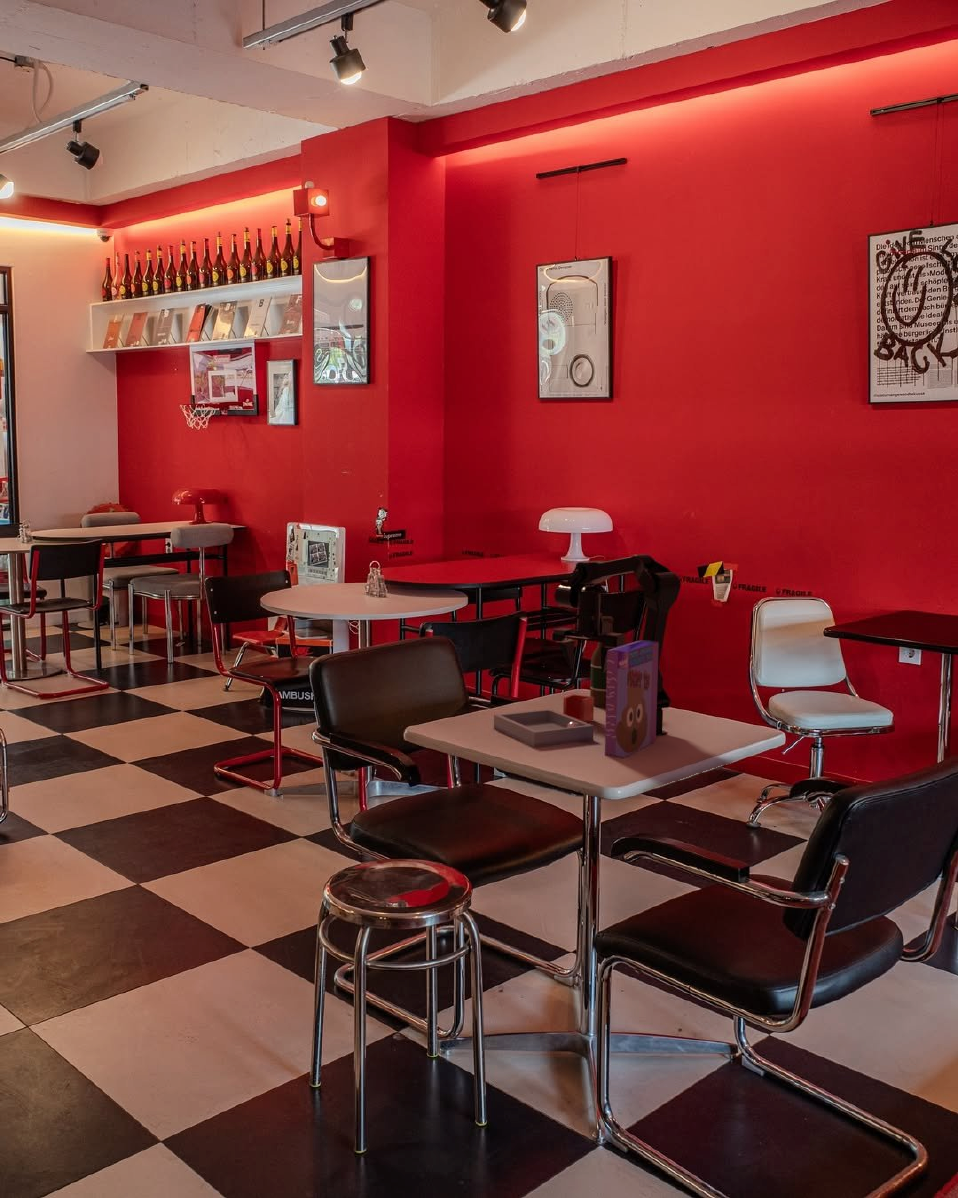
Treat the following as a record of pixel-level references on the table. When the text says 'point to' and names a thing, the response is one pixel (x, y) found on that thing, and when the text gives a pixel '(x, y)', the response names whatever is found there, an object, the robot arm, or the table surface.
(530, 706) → the table surface
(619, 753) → the cereal box
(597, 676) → the beer bottle
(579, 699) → the red arch stool
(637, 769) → the table surface
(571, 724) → the steel ball
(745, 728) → the table surface
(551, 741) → the slate tray
